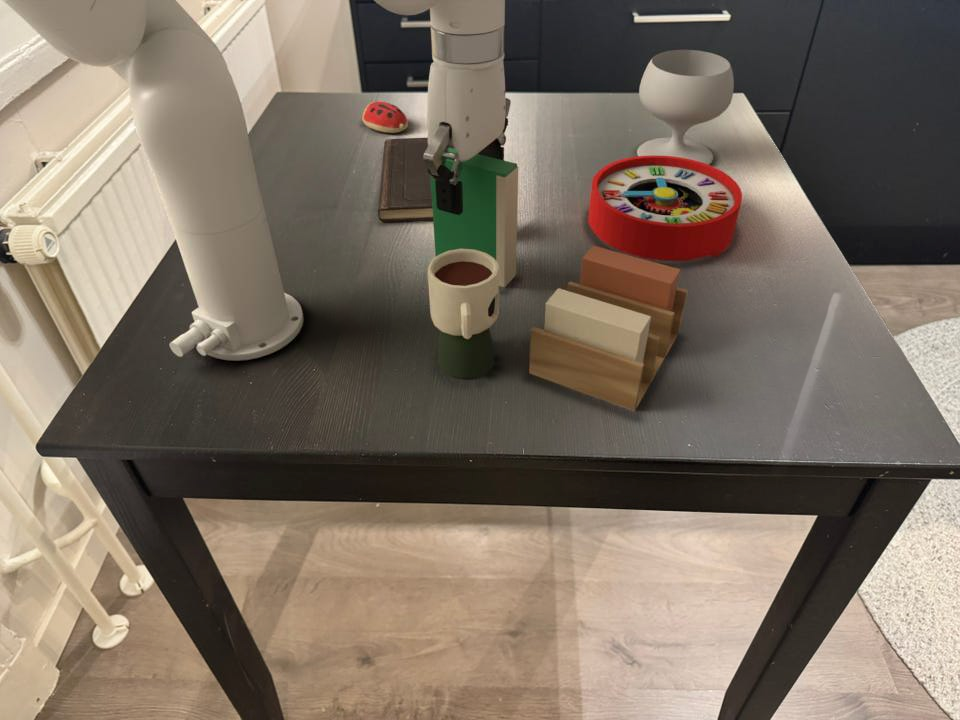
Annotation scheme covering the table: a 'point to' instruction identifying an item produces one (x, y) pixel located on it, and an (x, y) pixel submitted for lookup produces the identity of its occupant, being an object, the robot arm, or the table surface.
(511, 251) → the green book
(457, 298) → the character mug
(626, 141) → the table surface
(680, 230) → the toy clock
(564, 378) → the book rack
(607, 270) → the terracotta book
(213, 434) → the table surface
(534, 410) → the table surface
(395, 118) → the ladybug figurine
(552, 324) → the cream book
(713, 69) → the chalice
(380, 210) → the hardcover book
